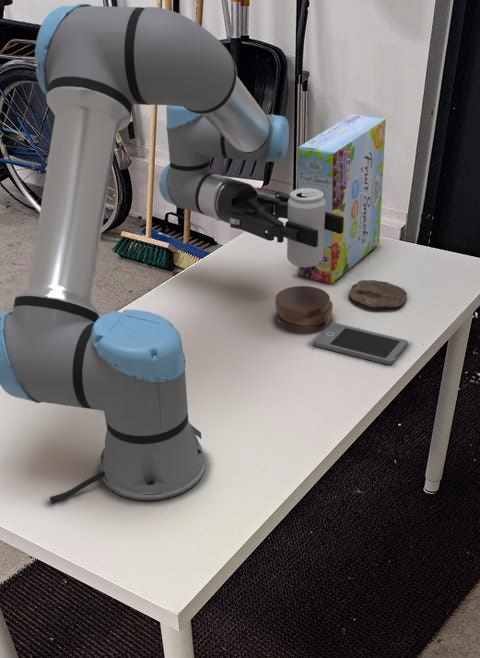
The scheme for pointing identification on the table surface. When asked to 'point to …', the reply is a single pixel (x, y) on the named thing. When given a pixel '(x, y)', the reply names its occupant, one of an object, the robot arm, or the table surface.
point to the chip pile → (303, 309)
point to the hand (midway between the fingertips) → (329, 232)
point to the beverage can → (308, 212)
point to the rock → (377, 294)
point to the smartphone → (360, 343)
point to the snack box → (346, 189)
